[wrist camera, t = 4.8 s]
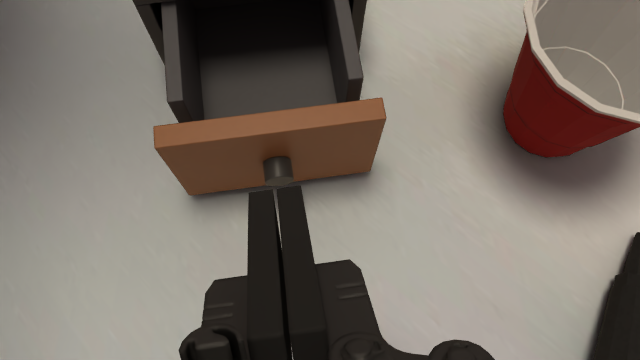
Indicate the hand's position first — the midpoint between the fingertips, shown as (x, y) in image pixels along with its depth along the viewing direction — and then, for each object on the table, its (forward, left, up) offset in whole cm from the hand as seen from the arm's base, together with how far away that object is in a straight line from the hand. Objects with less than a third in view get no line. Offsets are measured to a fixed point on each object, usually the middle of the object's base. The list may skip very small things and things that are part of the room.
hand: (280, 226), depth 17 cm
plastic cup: (+14, +14, -16) cm, 26 cm away
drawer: (-4, +12, -15) cm, 20 cm away
